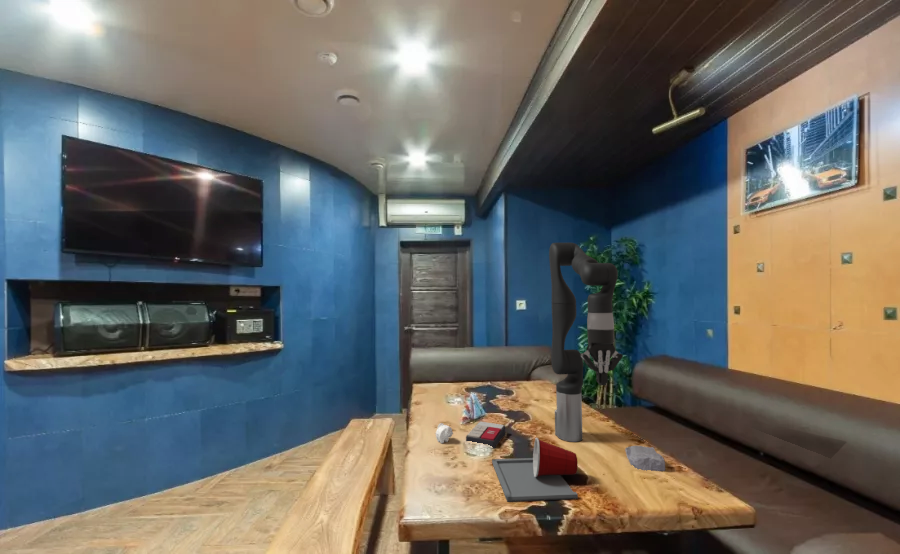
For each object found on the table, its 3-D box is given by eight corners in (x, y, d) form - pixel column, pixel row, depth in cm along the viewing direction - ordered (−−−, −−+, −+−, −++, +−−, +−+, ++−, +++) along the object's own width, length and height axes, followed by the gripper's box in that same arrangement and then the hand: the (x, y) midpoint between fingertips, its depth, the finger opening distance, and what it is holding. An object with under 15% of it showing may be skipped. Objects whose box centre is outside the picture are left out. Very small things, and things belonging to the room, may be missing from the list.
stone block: (635, 476, 110) (669, 472, 109) (631, 460, 111) (665, 455, 109) (623, 460, 122) (654, 456, 120) (619, 446, 122) (650, 442, 121)
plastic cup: (568, 448, 113) (530, 441, 114) (579, 440, 105) (538, 433, 106) (570, 486, 107) (530, 479, 108) (581, 481, 98) (538, 474, 99)
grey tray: (549, 461, 116) (549, 457, 116) (577, 499, 94) (577, 494, 94) (492, 463, 115) (492, 459, 115) (507, 501, 93) (507, 497, 93)
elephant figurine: (457, 441, 133) (457, 425, 133) (440, 446, 128) (440, 430, 128) (447, 436, 138) (447, 420, 138) (430, 441, 133) (430, 424, 134)
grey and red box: (465, 434, 131) (479, 419, 144) (465, 446, 131) (479, 430, 144) (494, 439, 126) (505, 423, 140) (494, 451, 126) (505, 434, 140)
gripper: (614, 326, 113) (616, 381, 112) (574, 326, 113) (575, 382, 111) (628, 328, 106) (630, 387, 105) (584, 328, 105) (586, 388, 104)
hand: (602, 384), depth 108 cm, fingers closed
